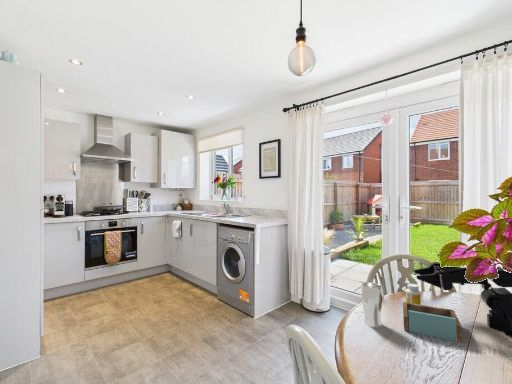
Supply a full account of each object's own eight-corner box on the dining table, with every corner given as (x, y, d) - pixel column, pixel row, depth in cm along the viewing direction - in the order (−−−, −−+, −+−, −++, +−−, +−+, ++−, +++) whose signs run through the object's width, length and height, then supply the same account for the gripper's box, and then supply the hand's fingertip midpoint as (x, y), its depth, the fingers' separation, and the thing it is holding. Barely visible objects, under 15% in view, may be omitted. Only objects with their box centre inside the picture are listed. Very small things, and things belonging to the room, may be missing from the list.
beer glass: (385, 331, 90) (384, 289, 90) (364, 330, 91) (363, 288, 91) (380, 322, 96) (379, 282, 97) (361, 320, 98) (359, 281, 98)
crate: (454, 326, 92) (453, 309, 92) (462, 345, 81) (462, 326, 81) (403, 317, 100) (402, 301, 100) (404, 333, 88) (403, 316, 88)
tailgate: (455, 339, 82) (455, 318, 82) (456, 341, 81) (455, 319, 81) (409, 330, 88) (408, 310, 89) (409, 331, 88) (408, 311, 88)
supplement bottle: (404, 307, 108) (403, 285, 109) (409, 304, 112) (408, 282, 112) (418, 311, 104) (417, 288, 104) (422, 308, 108) (422, 285, 108)
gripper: (455, 249, 102) (410, 249, 109) (468, 258, 86) (414, 258, 93) (459, 277, 101) (414, 276, 108) (474, 292, 85) (419, 289, 92)
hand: (415, 274), depth 100 cm, fingers open, 9 cm apart
